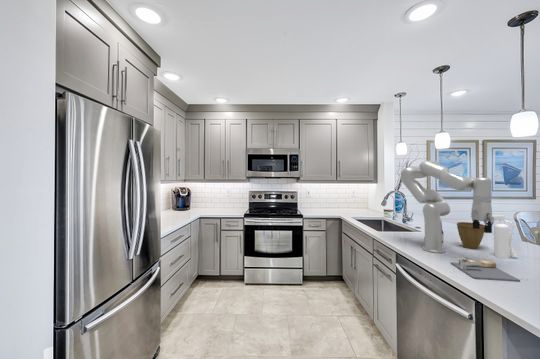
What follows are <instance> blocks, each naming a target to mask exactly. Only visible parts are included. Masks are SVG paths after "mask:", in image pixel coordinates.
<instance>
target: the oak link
mask: <svg viewBox="0 0 540 359" xmlns="http://www.w3.org/2000/svg"><path fill="white" fill-rule="evenodd" d="M460 261H463V262H480V263H482V264H483V266H481V265H466V266H477V267H495V268H497V262H496V263H495V262H494V261H492V260H475V259H468V258H467V257H462V259H458V263H460ZM460 264H461V263H460Z"/></svg>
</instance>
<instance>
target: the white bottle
mask: <svg viewBox="0 0 540 359" xmlns="http://www.w3.org/2000/svg"><path fill="white" fill-rule="evenodd" d="M492 217H493V218H494V223H495V222H497V221H498V223H496V224H494V228H493V229H494V230H493V233H494V234H493V235H494V237H493V240H494V245H493V247H494V250H493V251H494V257H496V258H499V259H510V256H511V257H513V258H516V257H518V256H519V255H518V253H517V251H516V250H515V249H514V248H513V246H512V239H513V238H512V237H513V231H514V228H515V227H514V222H513V221H510V220H507V219H506V217H505V215H502V214H500V215H492ZM505 222H506V223H509V224H510V227H509V225H508V224H505Z"/></svg>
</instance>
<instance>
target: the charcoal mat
mask: <svg viewBox="0 0 540 359" xmlns="http://www.w3.org/2000/svg"><path fill="white" fill-rule="evenodd" d="M450 264H451V265H452V266H454V267H455V268H456V269H458V270H459V271H461V272H462V273H464V274H465V275H467V276H469V277H470V278H472V279H473V280H486V281H500V282H501V281H503V282H519V283H521V279H519V278H517V277H515V276H513V275H511V274H509V273H507V272H506V271H504V270H501V269H499V268H497V267H496V268H495V267H477V266H466V270H462V269H461V264H460V263H459V262H453V261H451V262H450Z"/></svg>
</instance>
